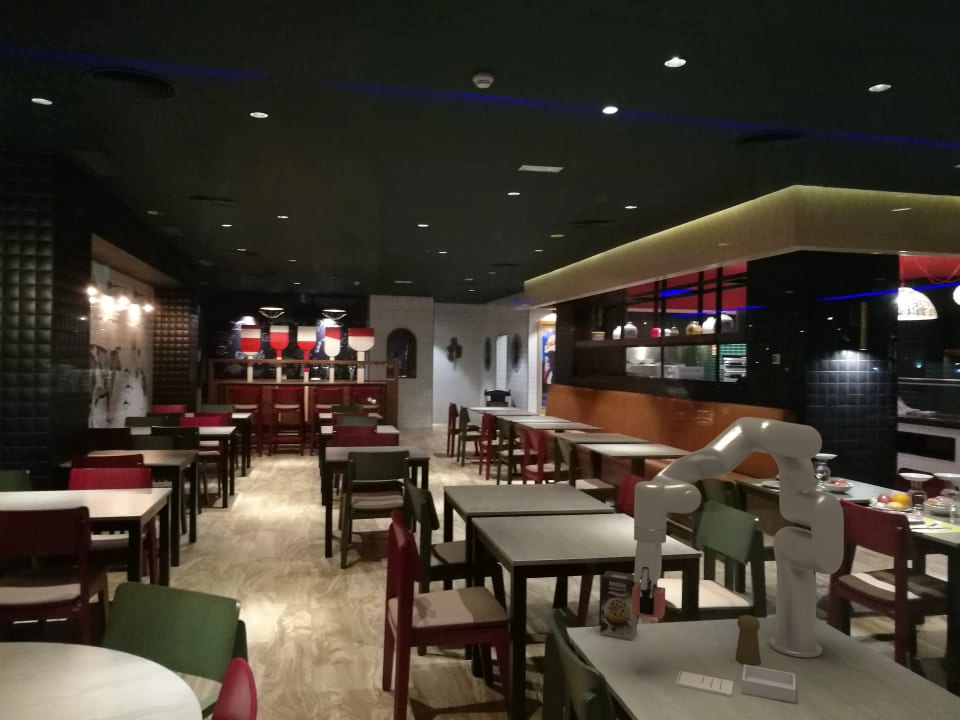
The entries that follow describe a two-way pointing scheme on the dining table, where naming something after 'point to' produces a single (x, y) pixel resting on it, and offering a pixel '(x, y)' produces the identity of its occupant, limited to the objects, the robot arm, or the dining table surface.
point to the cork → (748, 641)
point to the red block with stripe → (658, 601)
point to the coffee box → (618, 606)
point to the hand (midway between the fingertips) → (648, 609)
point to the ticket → (705, 683)
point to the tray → (769, 684)
